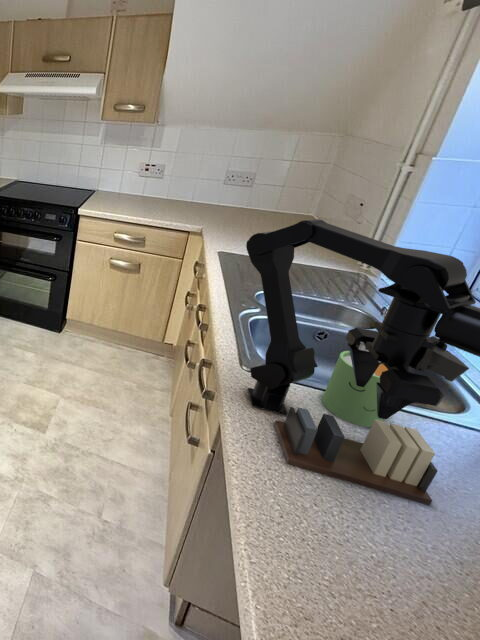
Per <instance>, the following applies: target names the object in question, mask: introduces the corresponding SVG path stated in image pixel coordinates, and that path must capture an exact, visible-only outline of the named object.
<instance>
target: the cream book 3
mask: <svg viewBox="0 0 480 640" xmlns="http://www.w3.org/2000/svg"><path fill="white" fill-rule="evenodd" d="M403 428H404V429H405V431H406V432H407V433H408V435H409V436H410V437H411V439H412V440H413V441H414V443H415V444H416V445H417V447H418V448H419V451H418V453H417V455H416V457H415V459H414V460H413V462H412V464H411V466H410V468H409V470H408V471H407V473H406V475H405V477H404V479H403V480H404V482H405V483H407V484H411V485H414V486H417V485H418V483H419V482H420V480H421V478H422V476H423V474H424V473H425V471H426V469H427V467H428V466H429V464H430V462H432V460H433V459H434V456H435V455H436V452H435V451H434V450H433V448H432V447H431V446H430V445H429V443H428V442H427V441H426V439H425V438H424V437H423V436H422V435H421V433H420V432H419V431H418V429H416V428H413V427H410V426H409V427H408V426H404V427H403Z"/></svg>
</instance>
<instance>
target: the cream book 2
mask: <svg viewBox="0 0 480 640" xmlns="http://www.w3.org/2000/svg"><path fill="white" fill-rule="evenodd" d="M388 426H389V427H390V428H391V430H392V431H393V433H394V434H395V436H396V437H397V438H398V440H399V441H400V443H401V444H402V445H401V447H400V449H399V451H398V453H397V455H396V457H395V459H394V461H393V463H392V465H391V467H390V469H389V471H388V473H387V474H388V476H389V477H390V479H393V480H397V481H400V482H402V481H403V479H404V477H405V475H406V473H407V471H408V470H409V468H410V466H411V464H412V462H413V460H414V459H415V457H416V455H417V453H418V451H419V448H418V447H417V445H416V444H415V443H414V441H413V440H412V439H411V437H410V436H409V435H408V433H407V432H406V431H405V429H404V428H405V427H404V426H403V425H400V424H397V423H394V422H393V423H392V422H390V424H389V425H388Z"/></svg>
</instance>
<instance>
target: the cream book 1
mask: <svg viewBox="0 0 480 640" xmlns="http://www.w3.org/2000/svg"><path fill="white" fill-rule="evenodd" d="M389 426H390V425H389V424H388V423H387V421H386V420H383V421H381V420H377V419H375V420H374V422H373V424H372V426H371V427H369V428H370V429H369V431H368V432H367V435H366V436H365V439H364V441H363V442H362V443H363V445H362V447H361V449H360V450H361V452H362V454H363V456H364V457H365V459H366V461H367V463H368V464H369V466H370V468H371V470H372V471H373V473H374V474H376V475H380V476H383V477H385V476H386V474H387V473H388V471H389V469H390V467H391V465H392V463H393V461H394V459H395V457H396V455H397V453H398V451H399V449H400V447H401V445H402V444H401V443H400V441H399V440H398V438H397V437H396V436H395V434H394V433H393V431H392V430H391V428H390V427H389Z"/></svg>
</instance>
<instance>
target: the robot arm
mask: <svg viewBox="0 0 480 640" xmlns="http://www.w3.org/2000/svg"><path fill="white" fill-rule="evenodd" d="M308 243H311V244H313V245H316V246H318V247H321V248H323V249H327V250H329V251H331V252H334V253H335V254H339V255H342V256H344V257H346V258H350V259H352V260H354V261H357V262H359V263H361V264H365V265H367V266H370V267H372V268H374V269H375V270H378V271H379V272H381V274H383V275H384V277H386V278H387V279H388V280H389V281H391V282H393V283H392V284H390V285H388V286H384V287H380V288H378V292H379V293H380V294H382V295H386V296H388V297H392V300H391V302H390V304H389V307H388V308H387V311H386V313H385V315H384V318H383V319H382V321H381V322H380V321H375V322H374V325H373V328H375V330H372V329H367V328H361V327H354V328H351V329H349V330H348V331H347V333H346V336H345V340H346V341H347V348H348V351H350V356H351V361H352V366H353V371H354V376H355V381H356V385H357V386H359V387H364V386H365V385H366V384H367V383H368V381H369V380H370V379H371V377H372V376H373V374H374V373H375V371H376V370H377V368H378V367H379V365H380V364H384V365H385V366H386V368H387V369H388V370H387V371H384V372H382V374H381V376H380V383H379V382H377V416H378V417H379V418H381V419H384V420H388V419H389V418H391V417H393V416H394V415H395V414H397V413H398V412H400V411H401V410H402V409H404V408H406V407H407V406H410V405H412V404H421V405H426V406H427V405H429V406H433V407H438V406H439V405H440V404H441V402H442V400H443V398H444V397H445V394H444V393H443V392H442V390H440V388H439V387H438V386H437V385H436V384H435V383H434V382H433V381H432V380H431V379H430V378H429V377H428V376H427V375H422V374H418V373H414V372H413V373H412V372H411V371H410V369H414V370H415V371H417V372H426V370H429V371H431V372H433V373H435V374H436V375H439V376H441V377H443V378H444V379H445V380H446V381H448V382H454V381H455V380H457V379H458V378H459V377H460V376H462V375H463V374H464V373H465V372H467V371H468V370H470V367H468V366H467V364H465V362H463V361H462V360H461V359H460V358H458V357H457V356H456V355H454V354H453V353H452V352H451V351H450V350H447V349H448V346H451V347H453V348H456V349H459V350H461V351H464V352H466V353H467V354H468V353H469V354H471V355H474V356H477V357H479V358H480V307H478V306H474V305H475V304H476V302H477V301H476V299H475V297H474V295H473V293H472V291H471V289H470V287H469V285H468V283H467V281H466V279H467V277H468V271H467V268H466V266H465V264H464V262H463V261H462V260H461V259H459V258H457V257H455V256H452V255H449V254H444V253H439V252H434V251H428V250H424V249H423V250H422V249H414V248H406V247H400V246H395V245H392V244H389V243H386V242H384V241H380V240H378V239H374V238H372V237H369V236H366V235H362V234H360V233H357V232H354V231H351V230H348V229H345V228H342V227H339V226H337V225H334V224H332V223H329V222H326V221H325V220H322V219H318V218H314V219H305V220H300V221H298V222H297V223H293V224H291V225H289V226H286V227H283V228H279V229H276V230H272V231H265V232H257V233H254V234H253V235H251V236H250V237H249V239H247V241H246V245H245V247H246V251H247V255H248V257H249V258H248V259H249V260H250V263H251V265H253V267H254V269H256V271H257V272H258V273H259V275H260V280H261V287H262V291H263V299H264V305H265V311H266V312H265V313H266V317H267V325H268V330H269V331H268V332H269V337H270V341H269V344H268V346H267V349H266V352H265V355H264V357H265V359H264V363H263V364H259V365H257V366H256V365H255V366H252V367H250V377H251V378H252V379H253V380H255V384H254V387H253V388H251V387H248V388H247V393H248V397H249V400H250V403H251V406H252V407H254V408H258V409H262V410H266V411H269V412H273V413H277V414H281V415H284V416H287V414H288V410H287V407H286V405H285V400H286V398H287V395H288V392H289V390H290V386H291V384H294V383H298V382H301V381H304V380H307V379H309V378H311V377H312V376H313V375H314V374H315V370H316V368H318V367H319V366H318V364H317V362H316V359H315V349H314V347H306V345H305V344H304V343H303V342H302V341H301V339H300V335H299V329H298V323H297V316H296V312H295V304H294V298H293V292H292V286H291V278H290V269H291V267H292V264H293V262H294V259H295V248H299V247H301V246H305V245H306V244H308ZM445 293H446V294H445ZM433 331H434V335H432V336H431V334H432V332H433Z"/></svg>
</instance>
